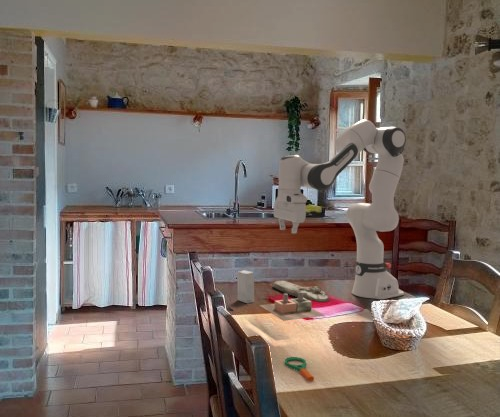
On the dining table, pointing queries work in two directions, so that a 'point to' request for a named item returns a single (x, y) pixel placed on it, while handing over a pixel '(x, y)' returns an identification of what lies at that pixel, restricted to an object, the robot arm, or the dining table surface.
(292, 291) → the long grey stone
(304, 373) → the magnifying glass
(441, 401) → the dining table surface
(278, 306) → the chunky salmon square frame
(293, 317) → the wooden peg board
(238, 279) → the skincare box
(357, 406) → the dining table surface
